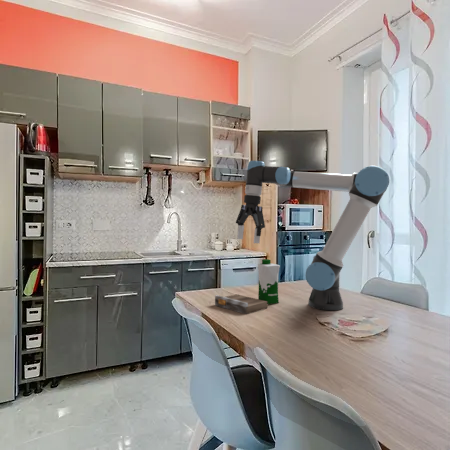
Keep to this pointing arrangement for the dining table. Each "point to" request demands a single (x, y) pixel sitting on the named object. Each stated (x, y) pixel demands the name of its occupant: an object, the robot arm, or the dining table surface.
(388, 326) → the dining table surface
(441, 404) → the dining table surface
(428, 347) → the dining table surface
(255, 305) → the brown flat box
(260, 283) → the soya milk
